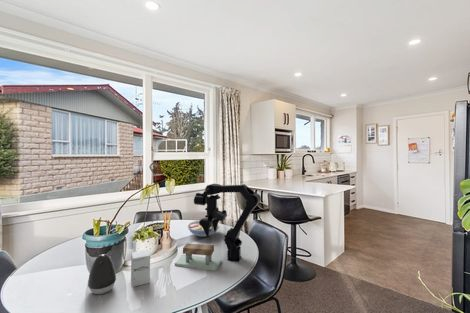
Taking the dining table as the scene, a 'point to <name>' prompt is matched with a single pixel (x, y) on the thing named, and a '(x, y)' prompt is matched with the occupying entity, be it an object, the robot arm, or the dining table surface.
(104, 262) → the tapered speaker
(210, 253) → the brown rectangular block
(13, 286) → the dining table surface
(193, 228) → the ramen bowl
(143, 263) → the supplement box
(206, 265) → the peg base
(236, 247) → the robot arm
